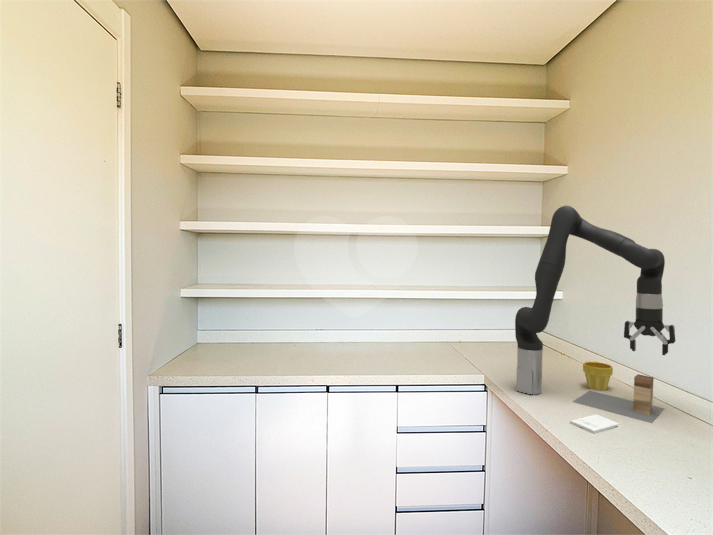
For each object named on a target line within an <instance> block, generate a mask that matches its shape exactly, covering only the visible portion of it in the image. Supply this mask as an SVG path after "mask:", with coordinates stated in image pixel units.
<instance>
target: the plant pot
mask: <svg viewBox="0 0 713 535" xmlns="http://www.w3.org/2000/svg"><path fill="white" fill-rule="evenodd" d="M613 368H614V367H613V366H612V365H611V364H608V363H604V362H600V361H585V362H583V363H582V371H583V373H584V375H585V378H586V385H587V388H589V389H593V390H597V391H598V390H599V391H605V390H608V386H609V382H610V380H611V376H613V372H614V371H613V370H614V369H613Z"/></svg>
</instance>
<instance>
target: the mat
mask: <svg viewBox="0 0 713 535" xmlns="http://www.w3.org/2000/svg"><path fill="white" fill-rule="evenodd" d="M633 402H634V400H632V399H631V400H630V399H626V398H623V397H620V396H615V395H610V394H605V393H601V392H598V391H593V390H588V391H587V392H585V393H583V394H582V395H580V396H579V397H577V398H576V399H575V400H572V403H575V404H578V405H583V406H586V407H590V408H594V409H598V410H601V411H605V412H609V413H611V414H612V413H613V414H616V415H620V416H623V417H626V418H627V417H628V418H632V419H634V420H638V421H643V422H646V423H648V424H649V423H650V424H653V423H654V422H655V420H657V418H658V417H659V416H660V415H661V414H662V413H663V412H664V410H665V408H664V407H660V406H656V405H653V406H652V413H651V414H650V415H646V414H642V413H638V412H634V411H633Z"/></svg>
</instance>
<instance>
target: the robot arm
mask: <svg viewBox="0 0 713 535" xmlns="http://www.w3.org/2000/svg"><path fill="white" fill-rule="evenodd" d="M549 227H550V228H549V230H548V235H547V238H546V242H545V244H544V246H543V250H542V252H541V255H540V258H539V261H538V263H537V265H536V266H537V267H536V268H535V269H536V270H535V274H534V282H535V290H536V294H535V299H534V301H533V304H532V307H529V306H523V307H521V308H519V309H518V310H517V311H516V313H515V319H514V320H515V321H514V322H515V323H514V324H515V326H514V329H515V335H514V336H515V340H516V342H517V346H516V347H517V348H516V349H517V350H516V351H517V352H516V353H517V356H516V378H515V379H516V381H515V382H516V386H515V390H516V392H518V391H519V392H518V393H522V392H523V394H525V393H527V394H526V395H529V394H531V395H530V396H533V395H540V394H542V393H541V392H542V390H543V388H542V387H543V355H544V354H543V351H544V344H543V341H542V340H541V339H540V338H539V336H538V334H539V333H542V332H543V331H544V330H546V328H547V326H548V324H549V321H550V314H551V312H552V308H553V303H554V298H555V295H556V293H557V289H558V286H559V282H560V280H561V277H562V274H563V272H564V269H565V265H566V256H567V254H566V253H567V244H568V239H569V236H574V237H577V238H579V239H582V240H585V241H588V242H590V243H592V244H594V245H595V246H598V247H600V248H601V249H604V250H606V251H608V252H610V253H612V254H613V255H615V256H617V257H621V258H623V259H624V260H625V261H626V262H628V263H629V264H632V266H635V267H637V268H639V269H640V275H639V277H638V278H637V280H636V295H635V296H636V297H635V321H629V320H626V321H625V322H624V328H623V329H624V330H623V338H625V339H626V340H627V339H628V341H629V349H630V350H631V351H632V352H636V350H637V349H636V347H637V344H636V338H638V336H640V335H642V336H644V337H645V336H648V337H649V336H650V337H657V338H658V339H659V340H660V342H661V343H662V348H661V354H662V356H666V355H668V353H669V345H671V344H675V342H676V332H675V331H676V329H675V328H676V327H675V325H674V324H664V322H663V320H664V319H663V315H664V314H663V313H664V312H663V311H664V310H663V308H664V303H663V285H662V282H663V281H662V280H663V275H664V271H665V264H666V263H665V256H664V253H663V252H662V251H661V250H659V249H656V248H648V247H645V246H642V245H640V244H638V243H636V241H634V240H633V239H631V238H629V237H627V236H625V235H623V234H621V233H619V232H616V231H613V230H609V229H606V228H602V227H599V226H597V225H594V224H592V223H590V222H589V221H587V220H586V219H584V218H583V217H581V215H580V214H579V212H578V211H577V210H576V209H575V208H574V207H572V206H570V205H562V206H560V207H559V208H557V209H556V210H555V211H554V212H553V214H552V218H551V222H550V226H549ZM632 327H634V328H635V329H636V330H637V331H636V332H634V333H633V334H632V335H631V334H630V329H631V328H632ZM664 329H665V330H666V331H667V332H668V336H669V339H667V337H666V336H665V334H663V332H662V331H663V330H664ZM532 394H533V395H532Z"/></svg>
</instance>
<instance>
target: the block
mask: <svg viewBox="0 0 713 535" xmlns="http://www.w3.org/2000/svg"><path fill="white" fill-rule="evenodd" d="M633 379H634V380H633V401H634V402H633V411H634V412H638V413H642V414H646V415H650V414H651V413H652V406H654V404H653V402H654V400H653V399H654V379H655V378H654V377H653V376H648V375H644V374H638V373H637V375H635V376H634V378H633Z"/></svg>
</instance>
